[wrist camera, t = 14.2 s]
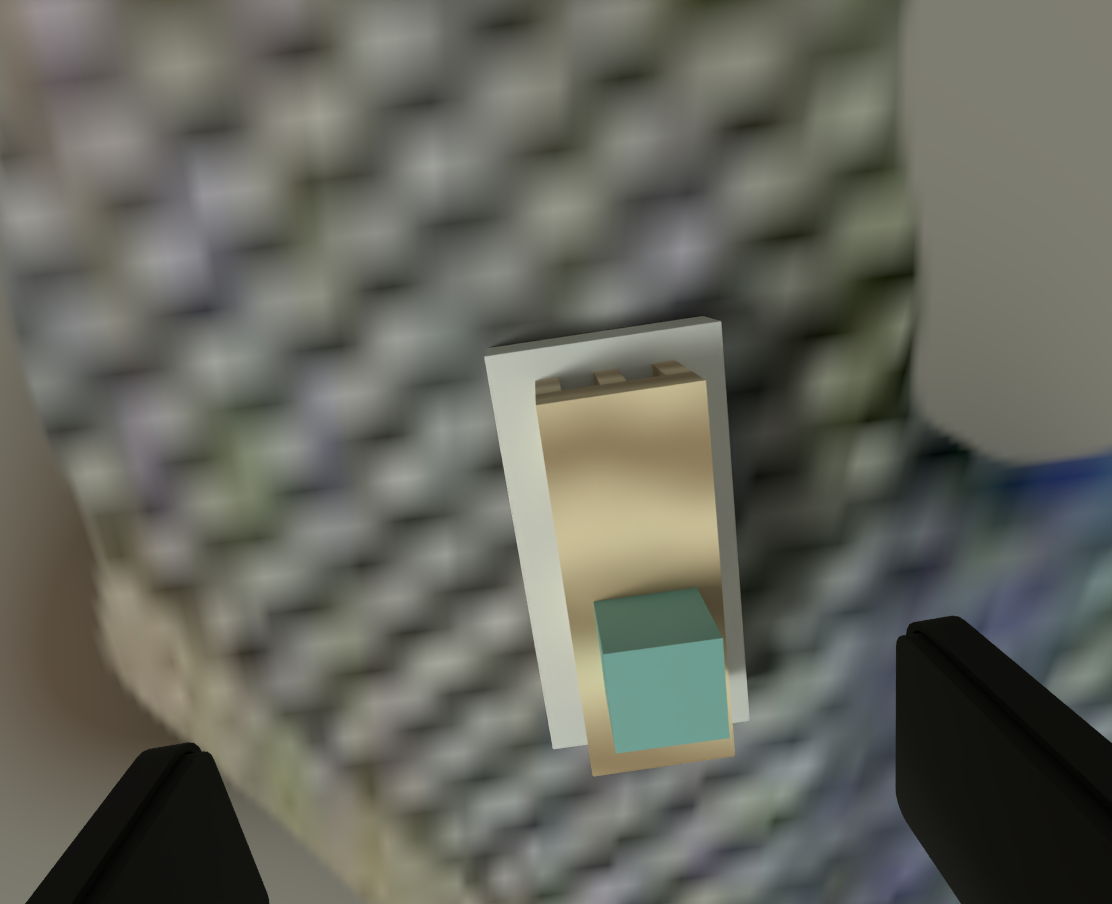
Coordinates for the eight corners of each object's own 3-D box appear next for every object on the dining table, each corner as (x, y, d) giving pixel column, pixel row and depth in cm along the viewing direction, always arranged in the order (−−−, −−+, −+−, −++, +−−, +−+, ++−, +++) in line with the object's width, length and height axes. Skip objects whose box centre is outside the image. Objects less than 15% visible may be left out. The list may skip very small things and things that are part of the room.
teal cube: (593, 601, 25) (603, 654, 21) (696, 587, 25) (722, 637, 21) (604, 690, 26) (615, 753, 22) (703, 676, 26) (729, 738, 22)
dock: (488, 347, 30) (484, 356, 27) (702, 315, 30) (721, 321, 27) (551, 709, 35) (553, 749, 32) (731, 683, 35) (749, 720, 32)
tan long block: (534, 380, 27) (535, 405, 22) (675, 360, 27) (705, 380, 22) (583, 699, 32) (592, 776, 27) (704, 681, 32) (735, 755, 27)
